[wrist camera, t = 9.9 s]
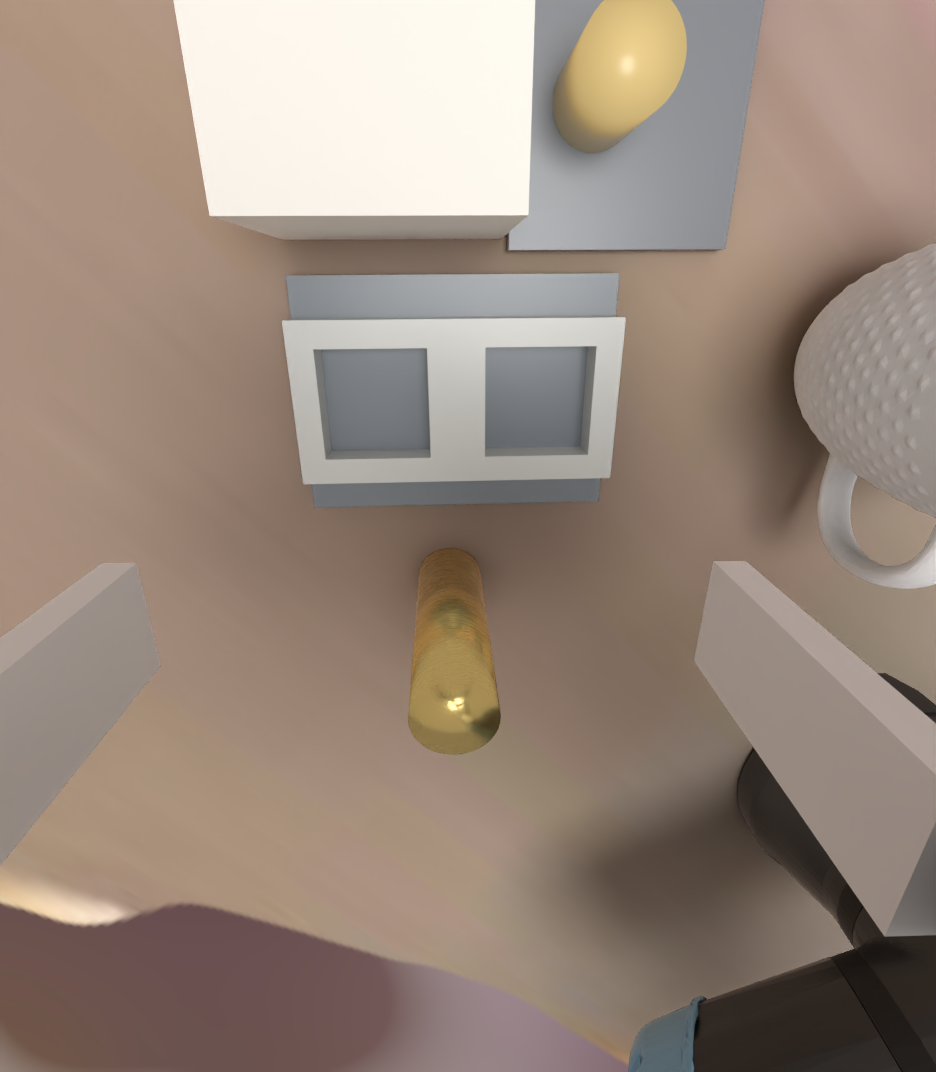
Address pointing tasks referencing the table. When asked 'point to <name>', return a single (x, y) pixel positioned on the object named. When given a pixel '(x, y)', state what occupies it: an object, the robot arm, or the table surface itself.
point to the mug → (875, 405)
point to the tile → (658, 150)
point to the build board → (401, 378)
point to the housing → (362, 115)
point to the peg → (452, 658)
